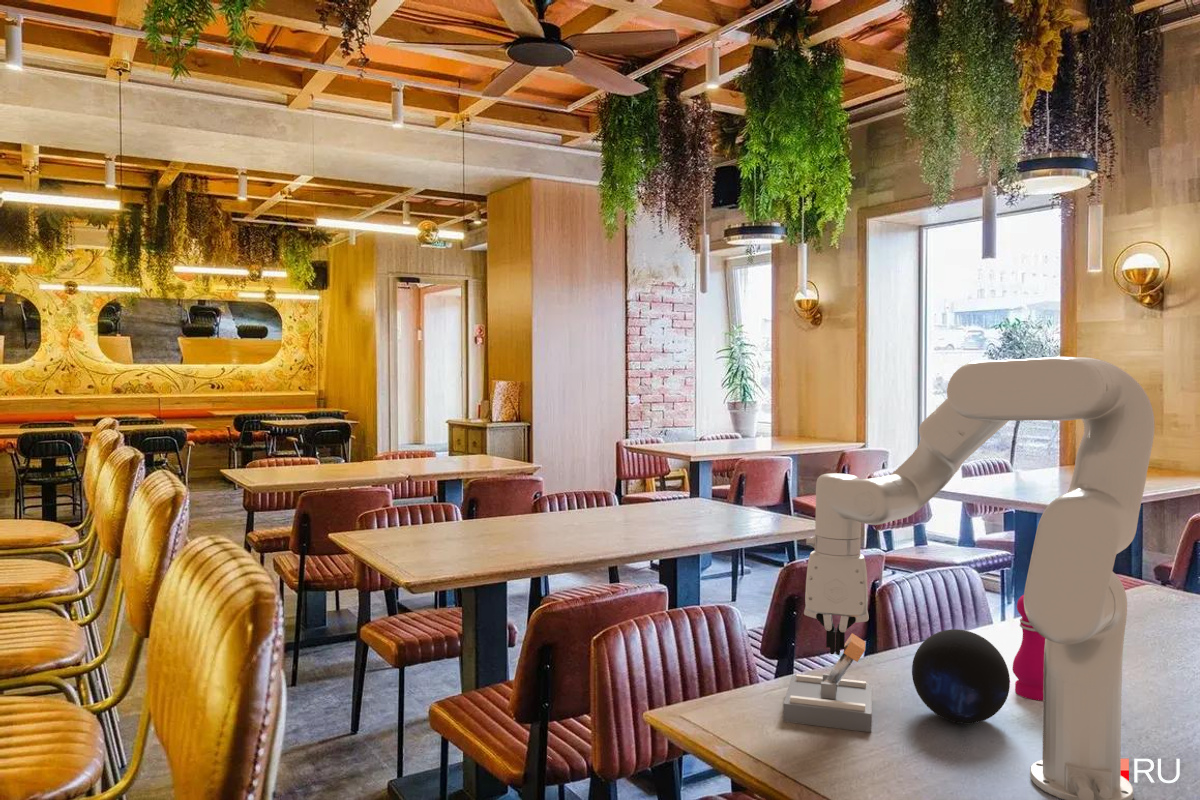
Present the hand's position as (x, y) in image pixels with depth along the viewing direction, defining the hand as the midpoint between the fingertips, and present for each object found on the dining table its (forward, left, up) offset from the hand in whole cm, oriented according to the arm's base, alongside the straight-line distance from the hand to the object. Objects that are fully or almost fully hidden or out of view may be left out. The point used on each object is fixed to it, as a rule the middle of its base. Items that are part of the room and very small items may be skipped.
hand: (835, 652), depth 145 cm
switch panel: (0, +1, -10) cm, 10 cm away
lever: (0, +1, -6) cm, 6 cm away
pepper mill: (+20, -34, -11) cm, 41 cm away
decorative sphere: (+3, -20, -11) cm, 23 cm away
